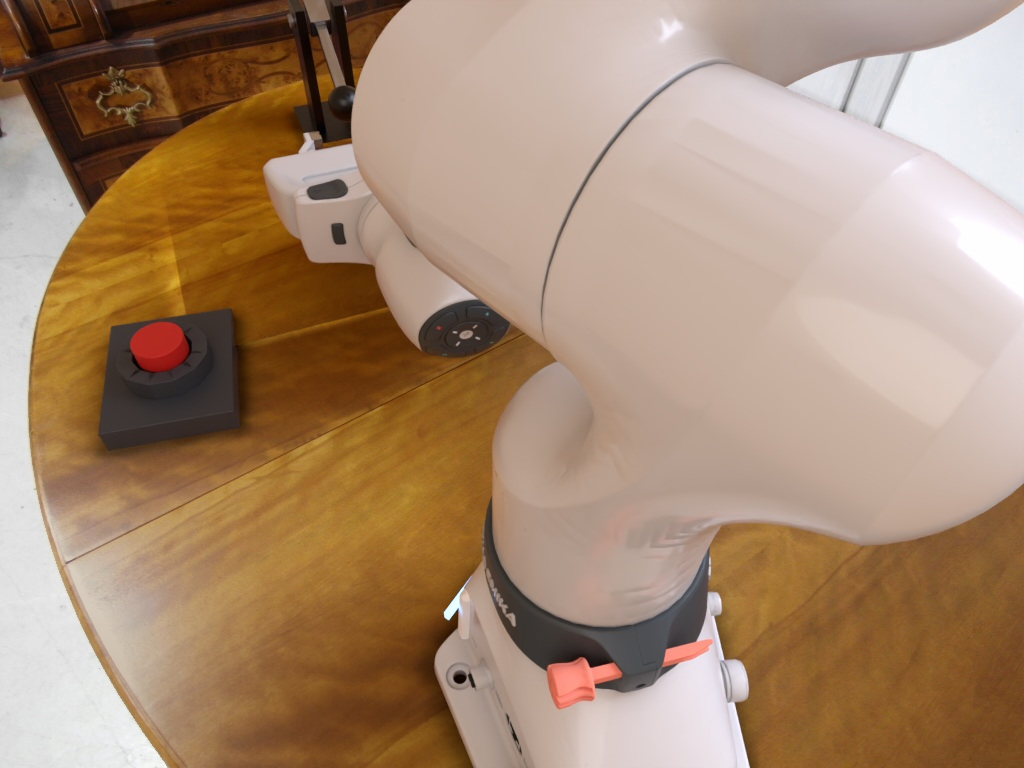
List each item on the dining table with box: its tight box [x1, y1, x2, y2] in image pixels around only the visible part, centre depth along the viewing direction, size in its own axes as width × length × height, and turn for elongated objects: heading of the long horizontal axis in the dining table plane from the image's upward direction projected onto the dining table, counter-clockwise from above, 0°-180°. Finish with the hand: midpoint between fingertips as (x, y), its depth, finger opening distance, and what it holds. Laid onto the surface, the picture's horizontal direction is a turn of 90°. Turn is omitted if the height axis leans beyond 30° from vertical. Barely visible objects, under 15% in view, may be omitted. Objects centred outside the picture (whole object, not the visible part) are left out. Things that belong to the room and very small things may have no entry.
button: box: [130, 322, 189, 372], centre depth 62 cm, size 4×4×2 cm
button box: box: [97, 307, 241, 452], centre depth 64 cm, size 12×10×4 cm
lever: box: [302, 0, 356, 122], centre depth 81 cm, size 14×4×4 cm, turn 22°
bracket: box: [286, 0, 356, 144], centre depth 86 cm, size 9×8×15 cm
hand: (360, 129), depth 74 cm, fingers open, 8 cm apart
